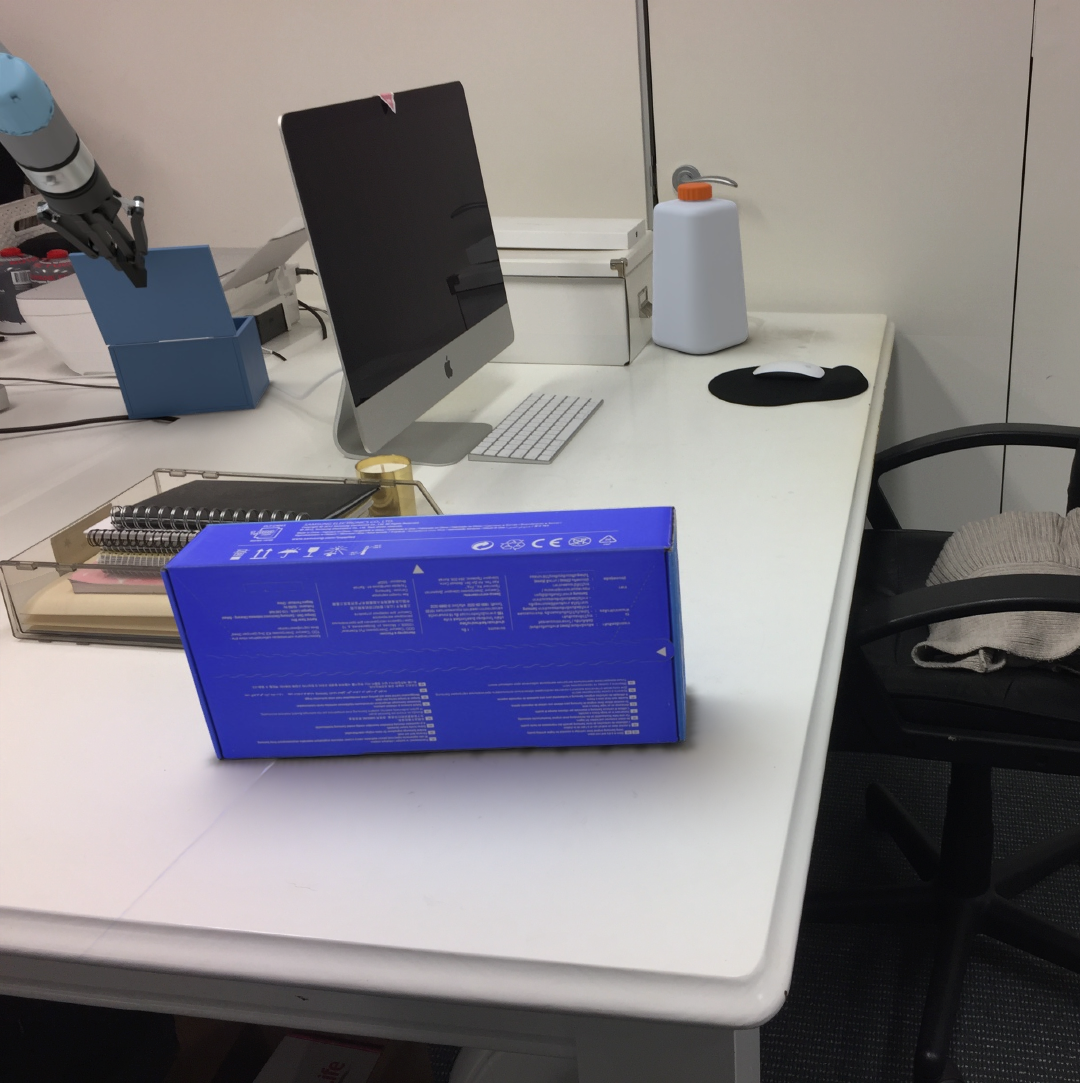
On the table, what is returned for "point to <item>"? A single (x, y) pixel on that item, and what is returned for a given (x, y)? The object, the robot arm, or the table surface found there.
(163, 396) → the case
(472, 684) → the blue cardboard box
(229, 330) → the case lid
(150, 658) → the table surface
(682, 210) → the plastic bottle
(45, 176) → the robot arm
